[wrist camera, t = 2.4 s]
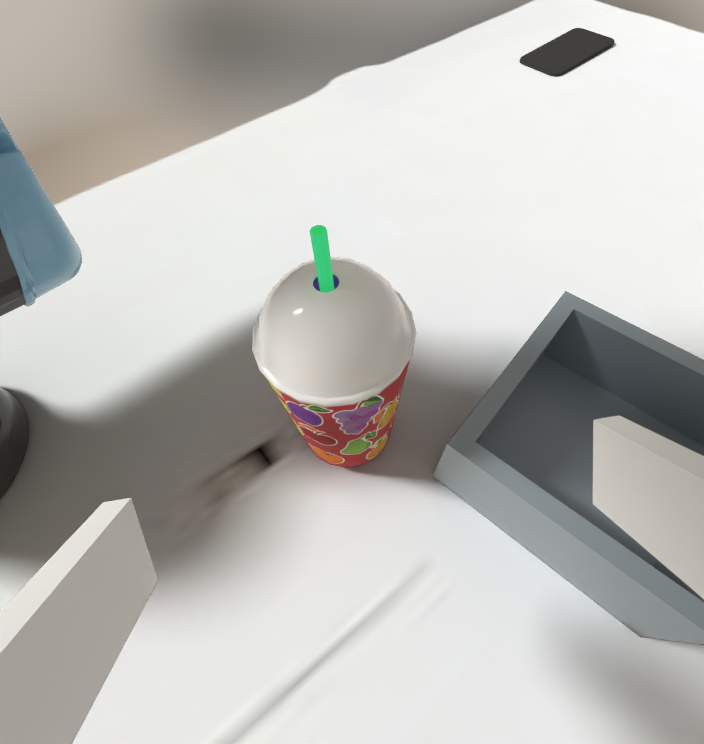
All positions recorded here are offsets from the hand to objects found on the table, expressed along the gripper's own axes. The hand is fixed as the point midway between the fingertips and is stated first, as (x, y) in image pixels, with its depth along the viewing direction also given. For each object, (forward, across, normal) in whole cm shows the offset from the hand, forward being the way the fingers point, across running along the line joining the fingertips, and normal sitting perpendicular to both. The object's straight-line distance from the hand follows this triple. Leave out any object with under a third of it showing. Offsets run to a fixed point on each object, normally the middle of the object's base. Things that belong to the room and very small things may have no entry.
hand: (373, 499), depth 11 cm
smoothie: (+20, 0, -6) cm, 21 cm away
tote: (+16, +16, -10) cm, 25 cm away
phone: (+60, +43, +33) cm, 81 cm away
